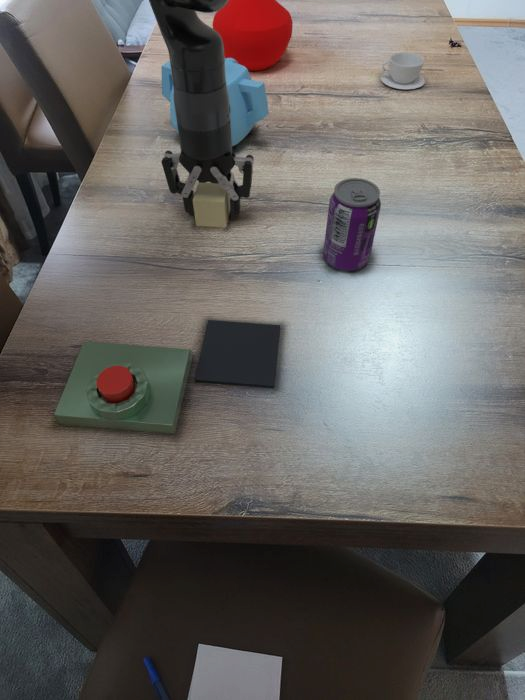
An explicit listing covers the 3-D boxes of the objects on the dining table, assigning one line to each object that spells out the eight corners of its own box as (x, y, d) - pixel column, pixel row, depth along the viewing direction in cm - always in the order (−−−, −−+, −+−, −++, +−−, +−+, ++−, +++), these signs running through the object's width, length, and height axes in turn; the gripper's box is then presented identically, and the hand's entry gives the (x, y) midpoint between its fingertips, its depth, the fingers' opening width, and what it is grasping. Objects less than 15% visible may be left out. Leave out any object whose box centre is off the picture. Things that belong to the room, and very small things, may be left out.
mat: (195, 382, 62) (194, 379, 61) (208, 322, 68) (208, 319, 68) (274, 388, 61) (274, 385, 61) (280, 327, 67) (280, 324, 67)
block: (196, 226, 81) (192, 200, 77) (201, 207, 84) (198, 181, 80) (226, 228, 80) (224, 202, 76) (230, 209, 83) (228, 183, 80)
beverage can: (374, 271, 74) (390, 204, 65) (329, 276, 73) (338, 209, 64) (361, 240, 78) (374, 173, 69) (318, 245, 78) (325, 178, 68)
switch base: (59, 424, 58) (47, 407, 55) (88, 351, 65) (79, 332, 62) (175, 434, 57) (169, 417, 54) (192, 359, 64) (188, 340, 61)
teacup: (424, 73, 114) (429, 51, 111) (424, 93, 108) (430, 70, 105) (380, 70, 115) (384, 48, 112) (379, 89, 110) (383, 67, 106)
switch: (95, 401, 56) (91, 392, 55) (106, 372, 59) (102, 364, 57) (130, 404, 56) (126, 395, 54) (138, 375, 58) (135, 366, 57)
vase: (266, 40, 126) (265, -53, 111) (306, 67, 116) (312, -31, 101) (202, 57, 120) (193, -40, 105) (238, 86, 111) (234, -15, 96)
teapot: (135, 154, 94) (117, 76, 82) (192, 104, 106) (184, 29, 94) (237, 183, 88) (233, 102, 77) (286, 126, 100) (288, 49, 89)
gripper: (146, 126, 67) (166, 226, 80) (251, 131, 66) (253, 231, 79) (158, 100, 71) (175, 198, 84) (257, 104, 70) (258, 203, 83)
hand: (213, 214), depth 82 cm, fingers open, 6 cm apart
